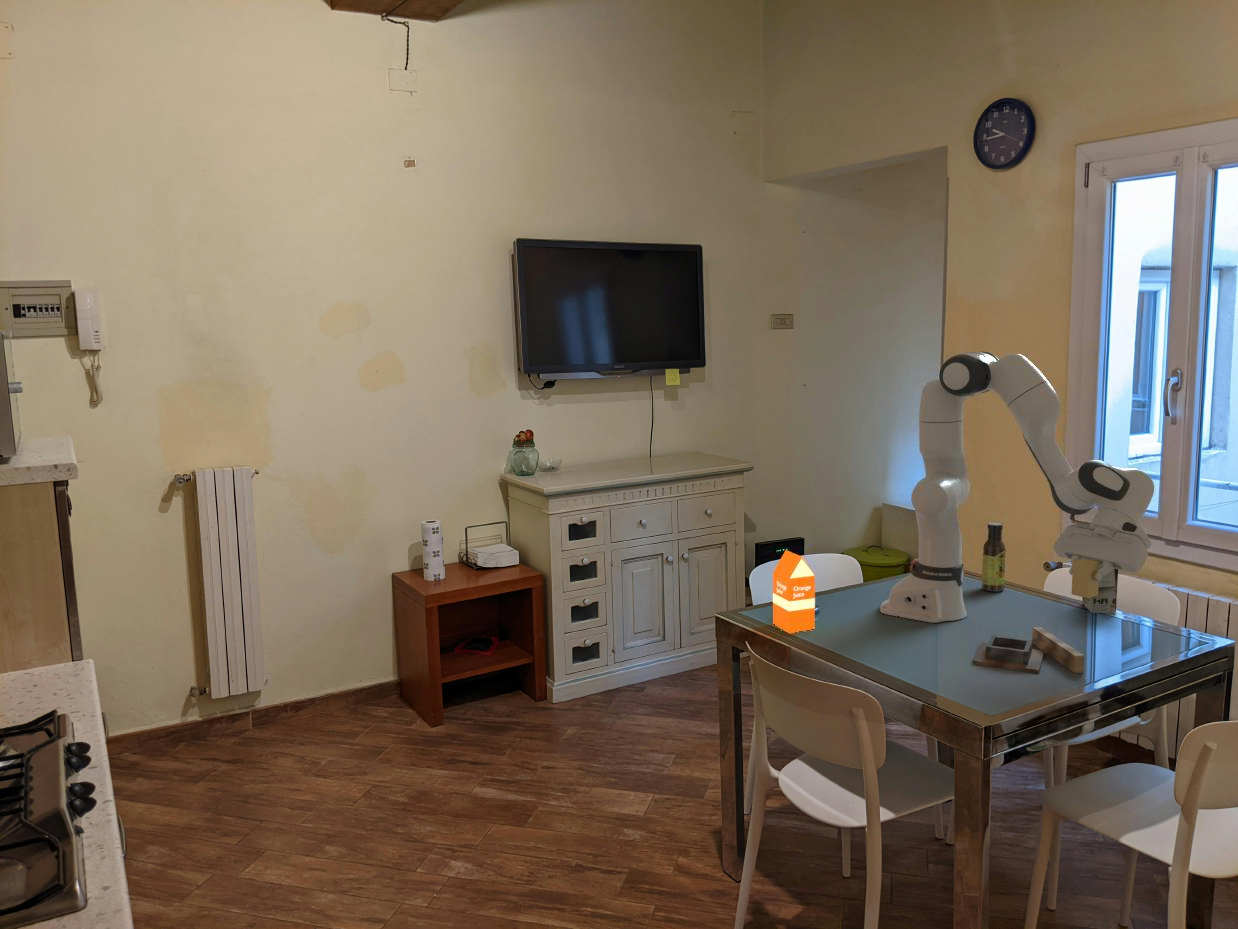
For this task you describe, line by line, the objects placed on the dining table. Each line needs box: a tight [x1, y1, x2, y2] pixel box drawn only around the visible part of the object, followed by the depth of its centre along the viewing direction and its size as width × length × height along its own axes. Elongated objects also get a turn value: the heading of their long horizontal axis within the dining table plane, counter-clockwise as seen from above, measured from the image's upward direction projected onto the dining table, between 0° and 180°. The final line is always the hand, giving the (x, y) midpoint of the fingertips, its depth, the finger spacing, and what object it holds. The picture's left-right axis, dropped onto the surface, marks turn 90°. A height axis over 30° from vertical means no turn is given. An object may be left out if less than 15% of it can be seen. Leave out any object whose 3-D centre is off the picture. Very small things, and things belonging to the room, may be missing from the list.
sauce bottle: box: [981, 522, 1007, 593], centre depth 268 cm, size 6×6×20 cm
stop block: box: [1071, 558, 1100, 598], centre depth 211 cm, size 4×4×8 cm
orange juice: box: [772, 549, 816, 634], centre depth 239 cm, size 8×9×20 cm
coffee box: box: [1081, 566, 1119, 615], centre depth 248 cm, size 9×6×16 cm
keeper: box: [972, 634, 1045, 674], centre depth 213 cm, size 14×14×4 cm
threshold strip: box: [1031, 626, 1085, 674], centre depth 213 cm, size 20×2×4 cm, turn 1°
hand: (1083, 576), depth 211 cm, fingers closed on stop block, 4 cm apart
